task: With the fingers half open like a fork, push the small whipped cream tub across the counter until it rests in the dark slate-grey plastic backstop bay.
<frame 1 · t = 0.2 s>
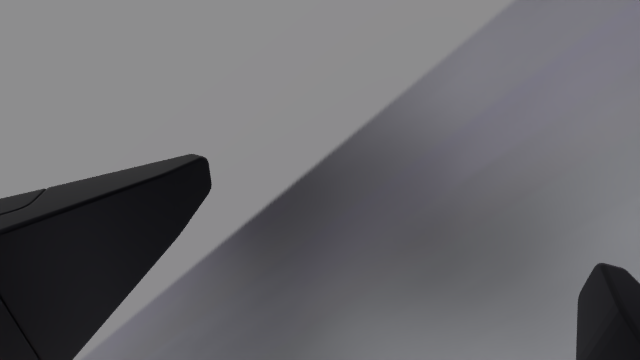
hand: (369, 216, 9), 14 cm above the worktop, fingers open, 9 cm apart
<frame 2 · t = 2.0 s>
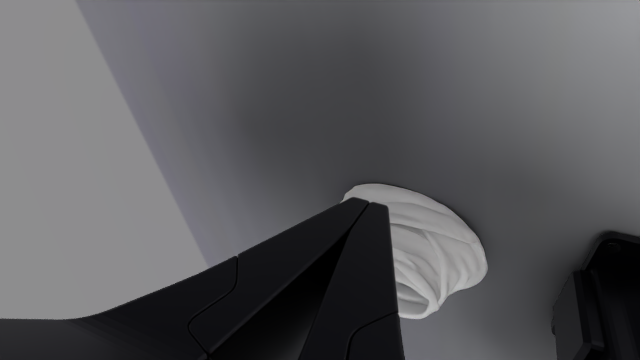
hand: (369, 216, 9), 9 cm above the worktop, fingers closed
whipped cream: (408, 236, 21), on the worktop
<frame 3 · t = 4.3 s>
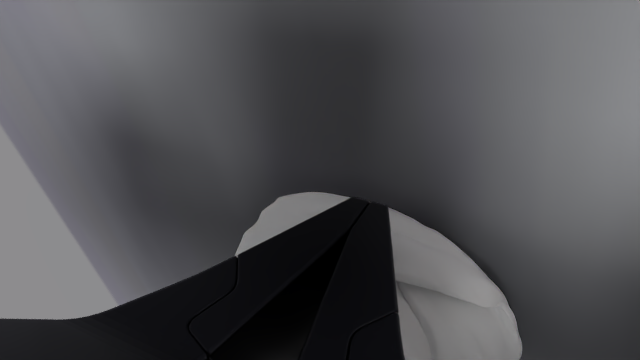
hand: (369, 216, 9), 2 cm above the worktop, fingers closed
whipped cream: (380, 281, 12), on the worktop, touching gripper
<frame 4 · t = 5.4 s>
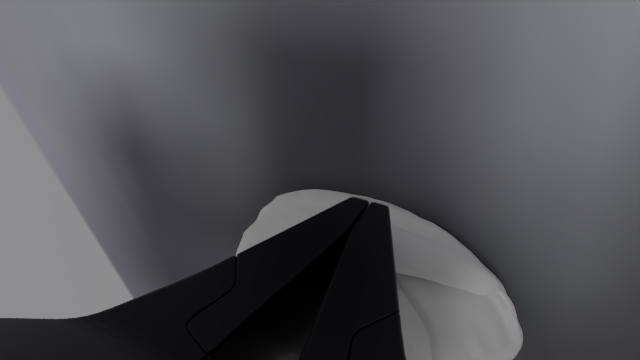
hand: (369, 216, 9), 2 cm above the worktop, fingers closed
whipped cream: (382, 276, 13), on the worktop, touching gripper
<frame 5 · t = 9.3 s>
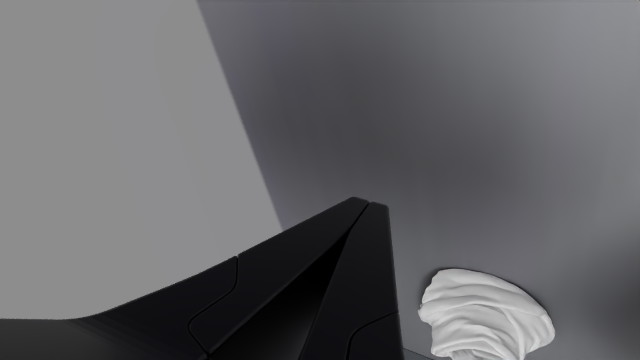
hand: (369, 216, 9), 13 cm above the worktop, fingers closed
whipped cream: (484, 305, 26), on the worktop
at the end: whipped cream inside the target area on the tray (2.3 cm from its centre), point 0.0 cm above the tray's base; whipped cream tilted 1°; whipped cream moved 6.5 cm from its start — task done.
